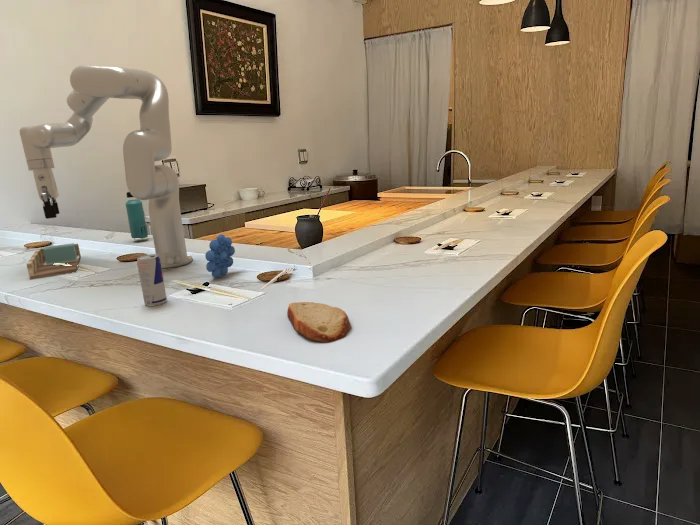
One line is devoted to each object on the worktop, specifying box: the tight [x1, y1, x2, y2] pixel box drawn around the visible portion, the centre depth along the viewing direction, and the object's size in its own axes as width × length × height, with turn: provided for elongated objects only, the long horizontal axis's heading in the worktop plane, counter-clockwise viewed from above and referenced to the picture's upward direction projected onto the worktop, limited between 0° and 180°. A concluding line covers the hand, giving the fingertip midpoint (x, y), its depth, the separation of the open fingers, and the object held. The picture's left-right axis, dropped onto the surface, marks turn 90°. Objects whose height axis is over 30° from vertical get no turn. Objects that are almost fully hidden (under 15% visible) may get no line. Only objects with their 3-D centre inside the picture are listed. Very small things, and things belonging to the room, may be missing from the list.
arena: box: [26, 243, 82, 280], centre depth 174 cm, size 24×13×5 cm, turn 24°
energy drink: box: [136, 253, 168, 306], centre depth 129 cm, size 5×5×12 cm
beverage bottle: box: [124, 191, 149, 239], centre depth 206 cm, size 6×7×20 cm
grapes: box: [205, 234, 236, 279], centre depth 149 cm, size 12×7×12 cm, turn 152°
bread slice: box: [286, 301, 352, 344], centre depth 109 cm, size 18×18×4 cm
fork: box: [259, 267, 295, 291], centre depth 144 cm, size 3×20×2 cm, turn 161°
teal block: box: [43, 242, 77, 264], centre depth 178 cm, size 9×4×5 cm, turn 114°
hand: (52, 216), depth 174 cm, fingers open, 9 cm apart
